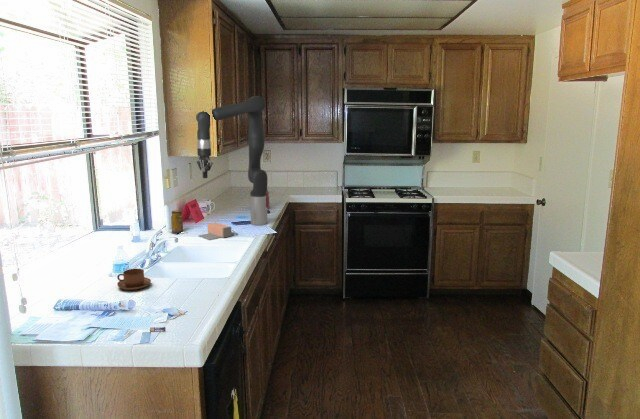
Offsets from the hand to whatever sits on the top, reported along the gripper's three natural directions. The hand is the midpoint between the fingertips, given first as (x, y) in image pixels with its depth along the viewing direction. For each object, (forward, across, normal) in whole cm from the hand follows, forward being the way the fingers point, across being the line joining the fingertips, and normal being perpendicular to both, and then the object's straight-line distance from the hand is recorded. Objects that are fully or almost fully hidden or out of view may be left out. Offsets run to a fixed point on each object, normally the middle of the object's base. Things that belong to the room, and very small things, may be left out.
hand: (205, 178), depth 275 cm
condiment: (+29, +1, +18) cm, 34 cm away
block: (+26, -12, +5) cm, 29 cm away
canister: (+29, +23, -59) cm, 70 cm away
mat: (+29, -20, +6) cm, 36 cm away
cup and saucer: (+29, -64, +74) cm, 102 cm away
